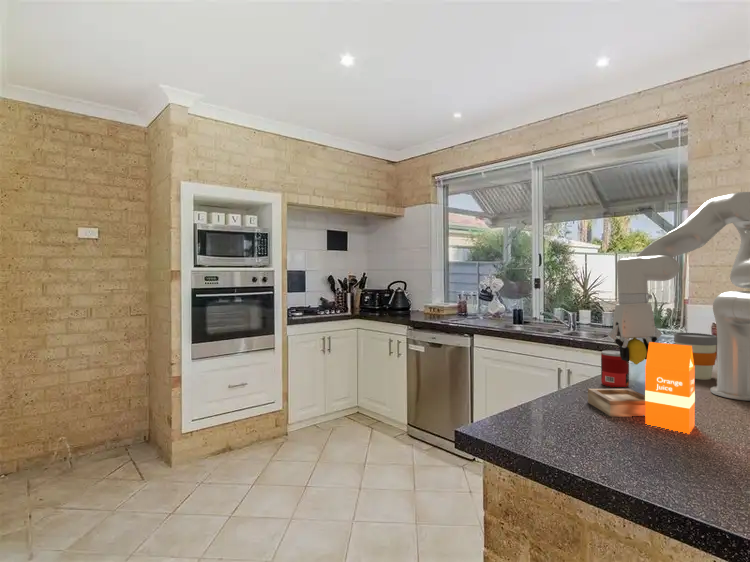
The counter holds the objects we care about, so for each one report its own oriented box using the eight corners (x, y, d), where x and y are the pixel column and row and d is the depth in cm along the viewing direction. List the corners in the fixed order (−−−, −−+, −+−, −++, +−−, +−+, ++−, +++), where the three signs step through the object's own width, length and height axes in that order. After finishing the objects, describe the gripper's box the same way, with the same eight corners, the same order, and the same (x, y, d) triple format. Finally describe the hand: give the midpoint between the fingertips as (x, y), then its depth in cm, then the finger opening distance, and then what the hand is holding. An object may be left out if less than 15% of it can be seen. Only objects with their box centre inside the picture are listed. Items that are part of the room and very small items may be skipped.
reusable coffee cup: (697, 381, 142) (697, 338, 142) (665, 373, 154) (665, 333, 154) (727, 379, 145) (727, 336, 144) (692, 371, 157) (692, 332, 157)
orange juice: (652, 417, 107) (652, 340, 107) (695, 425, 101) (695, 343, 101) (644, 425, 102) (644, 343, 101) (689, 434, 95) (689, 348, 95)
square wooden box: (630, 402, 120) (630, 388, 120) (657, 416, 108) (657, 401, 108) (587, 402, 120) (587, 388, 120) (610, 416, 108) (610, 401, 108)
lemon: (644, 362, 125) (642, 336, 125) (649, 366, 120) (648, 339, 120) (623, 362, 127) (622, 336, 127) (627, 366, 122) (626, 339, 122)
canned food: (632, 388, 134) (632, 354, 134) (605, 387, 136) (605, 354, 135) (623, 382, 141) (623, 350, 141) (598, 381, 143) (598, 350, 143)
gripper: (654, 297, 127) (657, 356, 127) (597, 300, 127) (600, 358, 127) (671, 298, 119) (674, 361, 120) (610, 301, 120) (613, 364, 120)
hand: (635, 359), depth 124 cm, fingers closed on lemon, 5 cm apart
